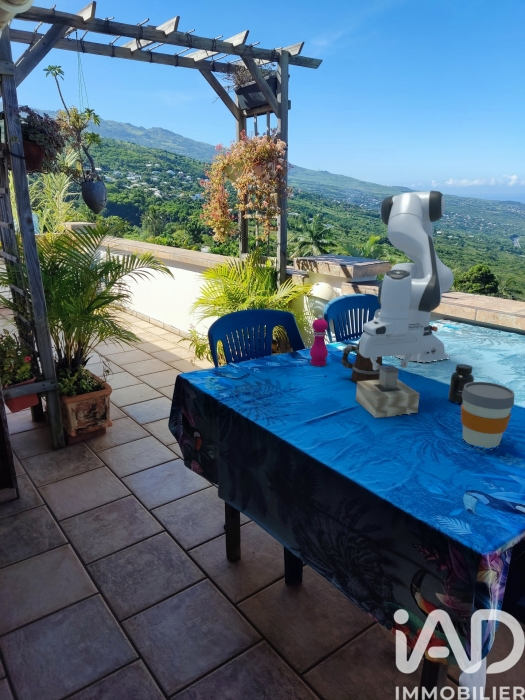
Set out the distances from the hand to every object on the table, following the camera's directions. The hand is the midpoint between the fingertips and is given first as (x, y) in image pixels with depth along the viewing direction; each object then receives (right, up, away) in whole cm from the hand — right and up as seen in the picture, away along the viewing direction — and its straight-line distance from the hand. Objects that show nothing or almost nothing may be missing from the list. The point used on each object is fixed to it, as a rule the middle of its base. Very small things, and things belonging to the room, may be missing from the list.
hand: (389, 368), depth 146 cm
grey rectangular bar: (0, -11, +3) cm, 12 cm away
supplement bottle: (+25, -11, +9) cm, 29 cm away
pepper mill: (-17, 0, +44) cm, 47 cm away
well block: (0, -12, +3) cm, 13 cm away
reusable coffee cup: (+20, -19, -18) cm, 33 cm away
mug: (-3, -5, +27) cm, 27 cm away
